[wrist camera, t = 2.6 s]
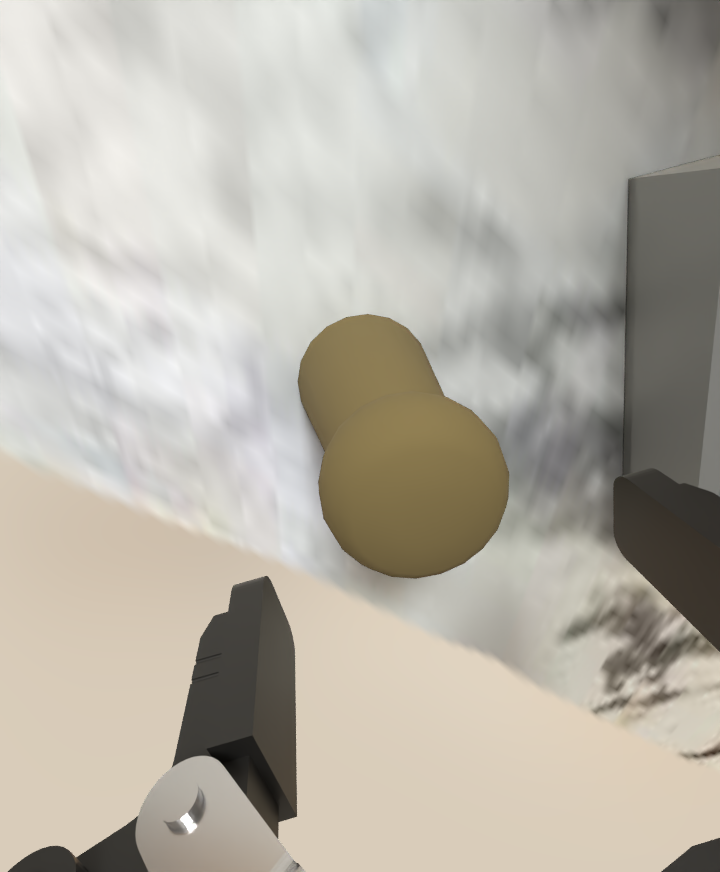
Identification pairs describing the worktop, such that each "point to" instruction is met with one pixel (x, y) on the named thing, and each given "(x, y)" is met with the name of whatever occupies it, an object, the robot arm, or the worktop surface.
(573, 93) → the worktop surface
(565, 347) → the worktop surface
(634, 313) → the bin
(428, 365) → the cork
